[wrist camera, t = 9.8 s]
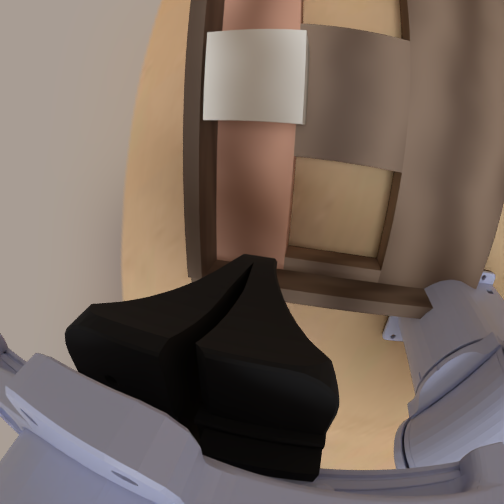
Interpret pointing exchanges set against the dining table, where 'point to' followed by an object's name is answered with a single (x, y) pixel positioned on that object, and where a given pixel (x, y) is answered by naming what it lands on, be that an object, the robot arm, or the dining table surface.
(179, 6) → the dining table surface
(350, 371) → the dining table surface
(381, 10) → the dining table surface
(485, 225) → the frame
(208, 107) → the block
